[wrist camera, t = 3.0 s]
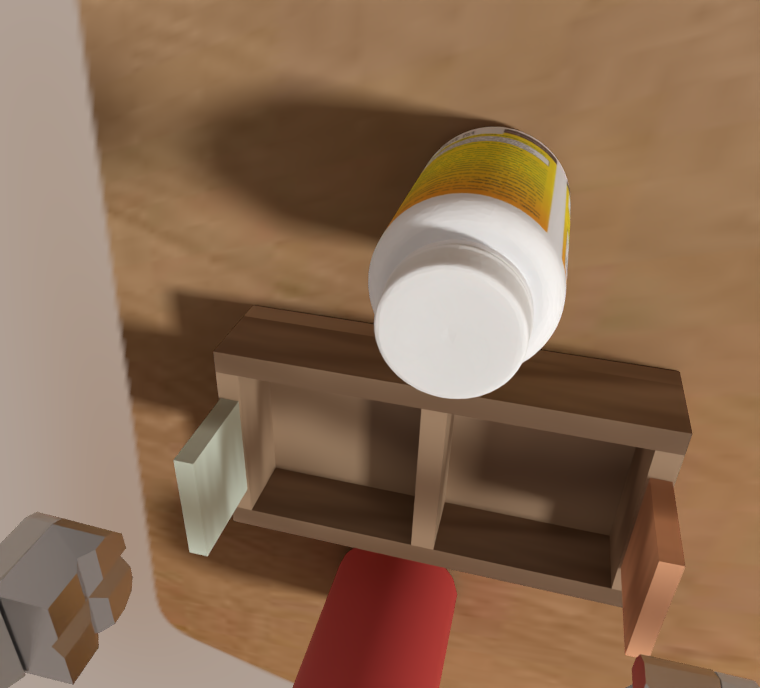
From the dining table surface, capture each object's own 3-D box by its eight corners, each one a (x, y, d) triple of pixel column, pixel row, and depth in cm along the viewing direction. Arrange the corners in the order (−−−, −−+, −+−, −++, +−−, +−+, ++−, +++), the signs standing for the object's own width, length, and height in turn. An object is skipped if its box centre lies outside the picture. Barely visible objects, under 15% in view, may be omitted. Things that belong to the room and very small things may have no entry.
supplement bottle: (396, 158, 26) (303, 275, 17) (539, 95, 23) (511, 195, 15) (455, 285, 28) (399, 444, 19) (592, 239, 25) (595, 397, 17)
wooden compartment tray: (252, 305, 31) (162, 410, 24) (679, 371, 27) (709, 516, 21) (265, 465, 36) (193, 588, 29) (626, 539, 32) (636, 697, 26)
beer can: (319, 555, 39) (226, 773, 29) (406, 516, 35) (336, 748, 25) (393, 627, 40) (330, 857, 30) (483, 597, 37) (445, 844, 27)
